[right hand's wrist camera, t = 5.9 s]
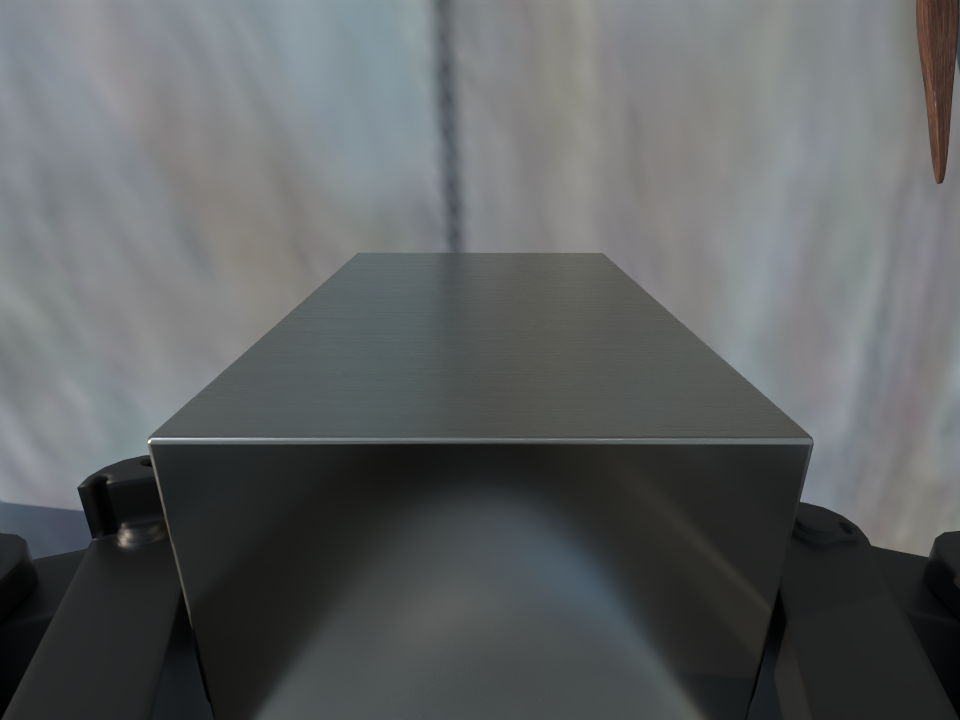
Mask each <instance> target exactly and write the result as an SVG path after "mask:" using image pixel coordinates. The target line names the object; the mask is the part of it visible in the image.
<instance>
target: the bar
mask: <svg viewBox="0 0 960 720" xmlns="http://www.w3.org/2000/svg"><path fill="white" fill-rule="evenodd" d="M147 445H148V449H149V453H150V457H151V461H152V465H153V470H154V474H155V478H156V482H157V486H158V490H159V494H160V499H161V503H162V507H163V511H164V515H165V519H166V523H167V528H168V532H169V536H170V540H171V544H172V548H173V552H174V557H175V561H176V565H177V569H178V573H179V577H180V581H181V586H182V590H183V594H184V598H185V602H186V606H187V610H188V615H189V619H190V623H191V627H192V631H193V635H194V639H195V644H196V648H197V652H198V656H199V660H200V664H201V668H202V673H203V677H204V681H205V685H206V689H207V693H208V697H209V702H210V706H211V710H212V714H213V718H214V720H747V717H748V713H749V708H750V704H751V700H752V696H753V692H754V688H755V684H756V680H757V675H758V671H759V667H760V663H761V659H762V655H763V651H764V647H765V642H766V638H767V634H768V630H769V626H770V622H771V618H772V613H773V609H774V605H775V601H776V597H777V593H778V589H779V585H780V580H781V576H782V572H783V568H784V564H785V560H786V556H787V552H788V547H789V543H790V539H791V535H792V531H793V527H794V523H795V519H796V514H797V510H798V506H799V502H800V498H801V494H802V490H803V485H804V481H805V477H806V473H807V469H808V465H809V461H810V457H811V452H812V448H813V439H812V437H811V436H810V435H809V434H808V433H807V432H805V431H804V430H803V429H802V428H801V427H800V426H799V425H798V424H796V423H795V422H794V421H793V420H792V419H791V418H790V417H788V416H787V415H786V414H785V413H784V412H783V411H782V410H780V409H779V408H778V407H777V406H776V405H775V404H774V403H772V402H771V401H770V400H769V399H768V398H767V397H766V396H765V395H763V394H762V393H761V392H760V391H759V390H758V389H757V388H755V387H754V386H753V385H752V384H751V383H750V382H749V381H747V380H746V379H745V378H744V377H743V376H742V375H741V374H739V373H738V372H737V371H736V370H735V369H734V368H733V367H732V366H730V365H729V364H728V363H727V362H726V361H725V360H724V359H722V358H721V357H720V356H719V355H718V354H717V353H716V352H714V351H713V350H712V349H711V348H710V347H709V346H708V345H706V344H705V343H704V342H703V341H702V340H701V339H700V338H699V337H697V336H696V335H695V334H694V333H693V332H692V331H691V330H689V329H688V328H687V327H686V326H685V325H684V324H683V323H681V322H680V321H679V320H678V319H677V318H676V317H675V316H673V315H672V314H671V313H670V312H669V311H668V310H667V309H666V308H664V307H663V306H662V305H661V304H660V303H659V302H658V301H656V300H655V299H654V298H653V297H652V296H651V295H650V294H648V293H647V292H646V291H645V290H644V289H643V288H642V287H640V286H639V285H638V284H637V283H636V282H635V281H634V280H633V279H631V278H630V277H629V276H628V275H627V274H626V273H625V272H623V271H622V270H621V269H620V268H619V267H618V266H617V265H615V264H614V263H613V262H612V261H611V260H610V259H609V258H607V257H606V256H605V255H604V254H602V253H358V254H356V255H355V256H354V257H353V258H352V259H351V260H349V261H348V262H347V263H346V264H345V265H344V266H343V267H341V268H340V269H339V270H338V271H337V272H336V273H335V274H334V275H332V276H331V277H330V278H329V279H328V280H327V281H326V282H324V283H323V284H322V285H321V286H320V287H319V288H318V289H317V290H315V291H314V292H313V293H312V294H311V295H310V296H309V297H307V298H306V299H305V300H304V301H303V302H302V303H301V304H299V305H298V306H297V307H296V308H295V309H294V310H293V311H292V312H290V313H289V314H288V315H287V316H286V317H285V318H284V319H282V320H281V321H280V322H279V323H278V324H277V325H276V326H275V327H273V328H272V329H271V330H270V331H269V332H268V333H267V334H265V335H264V336H263V337H262V338H261V339H260V340H259V341H257V342H256V343H255V344H254V345H253V346H252V347H251V348H250V349H248V350H247V351H246V352H245V353H244V354H243V355H242V356H240V357H239V358H238V359H237V360H236V361H235V362H234V363H232V364H231V365H230V366H229V367H228V368H227V369H226V370H225V371H223V372H222V373H221V374H220V375H219V376H218V377H217V378H215V379H214V380H213V381H212V382H211V383H210V384H209V385H208V386H206V387H205V388H204V389H203V390H202V391H201V392H200V393H198V394H197V395H196V396H195V397H194V398H193V399H192V400H190V401H189V402H188V403H187V404H186V405H185V406H184V407H183V408H181V409H180V410H179V411H178V412H177V413H176V414H175V415H173V416H172V417H171V418H170V419H169V420H168V421H167V422H165V423H164V424H163V425H162V426H161V427H160V428H159V429H158V430H156V431H155V432H154V433H153V434H152V435H151V436H150V437H149V438H148V443H147Z"/></svg>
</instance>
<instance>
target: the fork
mask: <svg viewBox="0 0 960 720" xmlns="http://www.w3.org/2000/svg"><path fill="white" fill-rule="evenodd" d="M916 18H917V35H918V44H919V52H920V59H921V66H922V73H923V81H924V88H925V96H926V104H927V115H928V126H929V137H930V146H931V155H932V163H933V170H934V175H935V179H936V182H937V184H940V183H942V182H943V180H944V176H945V171H946V163H947V154H948V144H949V132H950V119H951V105H952V92H953V81H954V71H955V61H956V50H957V39H958V25H959V0H917V6H916Z"/></svg>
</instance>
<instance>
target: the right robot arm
mask: <svg viewBox="0 0 960 720" xmlns="http://www.w3.org/2000/svg"><path fill="white" fill-rule="evenodd" d="M77 489H78V492H79V495H80V499H81V502H82V505H83V508H84V512H85V515H86V518H87V522H88V525H89V528H90V532H91V535H92V538H93V539H92V541H91V543H90V545H89V547H88V549H84V550H80V551H75V552H70V553H65V554H60V555H55V556H49V557H44V558H39V559H34V560H33V559H32V556H31V553H30V551H29V548H28V545H27V542H26V541H25V540H24V539H22V538H21V537H19V536H18V535H13V534H2V533H0V720H214V718H213V714H212V710H211V706H210V702H209V697H208V693H207V689H206V685H205V681H204V677H203V673H202V668H201V664H200V660H199V656H198V652H197V648H196V644H195V639H194V635H193V631H192V627H191V623H190V619H189V615H188V610H187V606H186V602H185V598H184V594H183V590H182V586H181V581H180V577H179V573H178V569H177V565H176V561H175V557H174V552H173V548H172V544H171V540H170V536H169V532H168V528H167V523H166V519H165V515H164V511H163V507H162V503H161V499H160V494H159V490H158V486H157V482H156V478H155V474H154V470H153V465H152V461H151V457H150V455H145V456H140V457H136V458H131V459H126V460H123V461H120V462H118V463H115V464H112V465H110V466H107V467H104V468H103V469H101V470H99V471H97V472H96V473H94V474H92V475H91V476H89V477H87V478H86V480H85V481H84V482H83V483H82V484H81V485H80V486H79V487H78V488H77ZM747 720H960V531H954V532H944V533H943V534H941V535H940V536H938V537H937V538H935V541H934V544H933V547H932V549H931V552H930V555H929V557H924V556H919V555H914V554H909V553H903V552H898V551H893V550H888V549H883V548H879V547H875V546H871V544H870V542H869V540H868V538H867V537H866V536H865V535H864V533H863V532H862V531H861V530H860V529H859V527H858V526H856V525H855V524H853V523H852V522H851V521H849V520H848V519H846V518H845V517H843V516H842V515H839V514H837V513H835V512H833V511H830V510H828V509H826V508H823V507H820V506H816V505H812V504H808V503H804V502H799V506H798V510H797V514H796V519H795V523H794V527H793V531H792V535H791V539H790V543H789V547H788V552H787V556H786V560H785V564H784V568H783V572H782V576H781V580H780V585H779V589H778V593H777V597H776V601H775V605H774V609H773V613H772V618H771V622H770V626H769V630H768V634H767V638H766V642H765V647H764V651H763V655H762V659H761V663H760V667H759V671H758V675H757V680H756V684H755V688H754V692H753V696H752V700H751V704H750V708H749V713H748V717H747Z"/></svg>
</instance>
